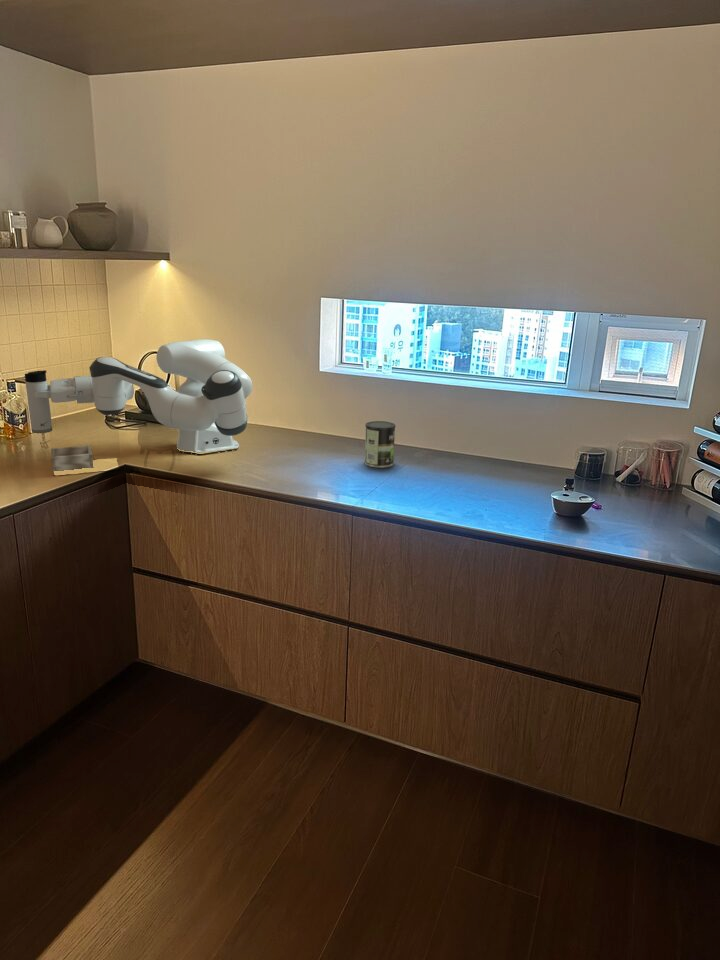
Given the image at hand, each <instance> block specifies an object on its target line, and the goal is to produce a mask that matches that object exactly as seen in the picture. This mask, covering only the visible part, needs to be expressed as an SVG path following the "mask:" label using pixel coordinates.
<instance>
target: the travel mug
mask: <svg viewBox="0 0 720 960" xmlns="http://www.w3.org/2000/svg"><path fill="white" fill-rule="evenodd" d="M46 373H47V370H36V371H30V372H27V373H24V378H25V379H24V383H25V390H26V398H27V405H28V413H29V421H30V427H31V428H30V430H31V433H33V434H47V433H50V432H52V431H53V425H52V424H53V423H52V415H51V406H50V405H51V404H50V398H42V397H38V398H36V397H35V391H48V387H47V385H48V380H47V374H46Z"/></svg>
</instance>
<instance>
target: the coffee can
mask: <svg viewBox="0 0 720 960" xmlns="http://www.w3.org/2000/svg"><path fill="white" fill-rule="evenodd" d="M395 435H396V424H395V423H393V422H391V421H390V422H389V421H385V420H384V421H383V420H374V421H368V422H366V423H365V438H364V439H365V442H364V443H365V445H364V447H365V448H364V465H365V466H367V467H371V468H379V469H380V468H382V469H383V468H390V467H392V466H394V465H395V464H394V461H395V460H394V459H395V458H394V456H395V455H394V454H395V439H396V438H395Z"/></svg>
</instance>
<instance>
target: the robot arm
mask: <svg viewBox="0 0 720 960" xmlns="http://www.w3.org/2000/svg"><path fill="white" fill-rule="evenodd" d="M156 363H157V366H158V367H159V369H160V370H161V371H162V372H163V373H165V374H170V375H176V376H180V377H184V378H186V380H185V381H184V382H183V383H181V385H180V386H179V387H178V389H177V391H176V390H174V389H173V388H172V387H171V386H169V384H168V383H167V381H166V380H165V379H163V378H161V377H159V376H157V375H155V374H153V373H150V372H146V371H144V370H142V369H139V368H136V367H133V366H131V365H128V364H127V363H124V362H123V361H120V360H119V359H117V358H114V357H111V356H100V357H97V358H96V359H94V361H93V362H92V363H91V364H90V366H89V372H90V373H89V374H90V375H87V376H86V375H85V376H83V375H82V376H81V375H76V376H75V375H74V376H73V377H71V378H70V377H69V378H58V379H53V380H50V381H49V384H47V387H48V391H35V397H36V398H38V397H42V398H49V399H51V400H50V401H51V403H68V402H69V403H70V402H75V401H76V404H94V407H95V409H96V411H98V412H99V413H100V414H102V415H104V416H105V415H106V416H114V415H119V414H120V413H121V412H122V411H124V410H125V408H126V403H127V402H128V400H132V399H133V398H134V395H135V390H134V386H137V387H138V388H140V389H141V391H142V392H143V393H144V395H145V397H146V399H147V402H148V404H149V408H150V410H151V413H152V415H153V417H154V419H156V421H157V422H158V423H159V424H160V425H163V426H166V427H168V428H173V429H176V430H177V429H178V436H177V441H176V442H177V443H176V447H177V448H178V449H180V450H184V451H193V452H197V453H203V452H202V451H205V452H210V451H218V450H226V449H234V448H238V447H239V448H240V444H239V442H238V441H237V440H235V439H234V438H233V437H234V436H237V435H240V434H242V433H243V432H244V431H245V430H246V429H247V425H248V414H247V402H246V399H247V398H248V397H249V396H250V395H251V393H252V390H253V381H252V379H251V376H249V375H248V374H247V373H246V372H245V371H244V370H243V369H242V368H241V367H239V366H238V365H236V364H235V363H234V362H232V361H230V360H229V359H227V358H226V351H225V348H224V346H223V345H222V343H221V342H220V341H218V340H215V339H214V340H213V339H207V338H203V339H193V340H192V339H190V340H180V341H172V342H169V343H166V344H163V345H161V346H159V348H158V350H157V352H156Z"/></svg>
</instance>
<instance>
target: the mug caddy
mask: <svg viewBox="0 0 720 960" xmlns="http://www.w3.org/2000/svg"><path fill="white" fill-rule="evenodd" d="M50 458H51V467H52V473H53V472H54V471H64V470H74V469H82V468H94V467H93V459H94V458H93V452H92V447H91V445H81V446H67V447H54V448H51V449H50Z"/></svg>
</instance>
